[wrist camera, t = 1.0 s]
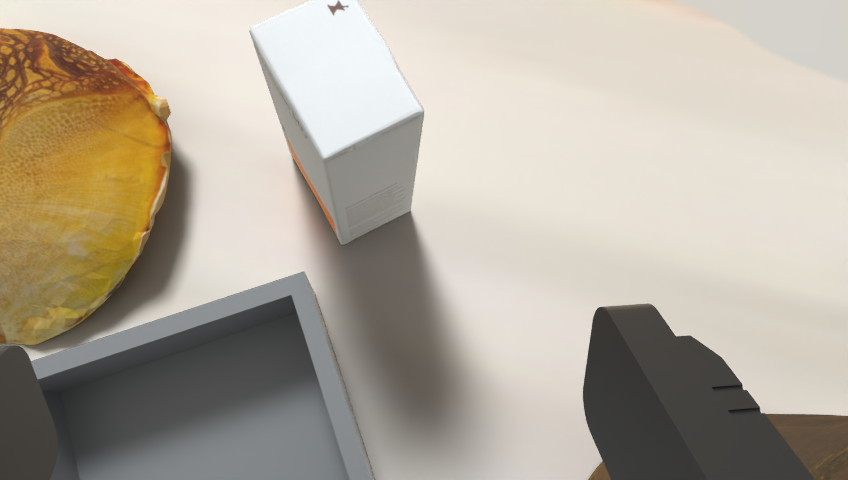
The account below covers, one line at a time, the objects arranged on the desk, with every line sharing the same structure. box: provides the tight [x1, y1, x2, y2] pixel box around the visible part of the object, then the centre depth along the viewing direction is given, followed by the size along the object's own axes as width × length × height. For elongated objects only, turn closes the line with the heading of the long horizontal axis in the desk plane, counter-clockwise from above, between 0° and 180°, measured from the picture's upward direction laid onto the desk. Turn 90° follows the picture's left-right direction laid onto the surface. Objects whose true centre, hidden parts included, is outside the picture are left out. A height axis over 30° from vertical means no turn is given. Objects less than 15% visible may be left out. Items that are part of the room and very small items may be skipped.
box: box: [31, 272, 375, 480], centre depth 29 cm, size 13×12×5 cm
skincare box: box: [249, 0, 424, 245], centre depth 29 cm, size 6×4×12 cm
